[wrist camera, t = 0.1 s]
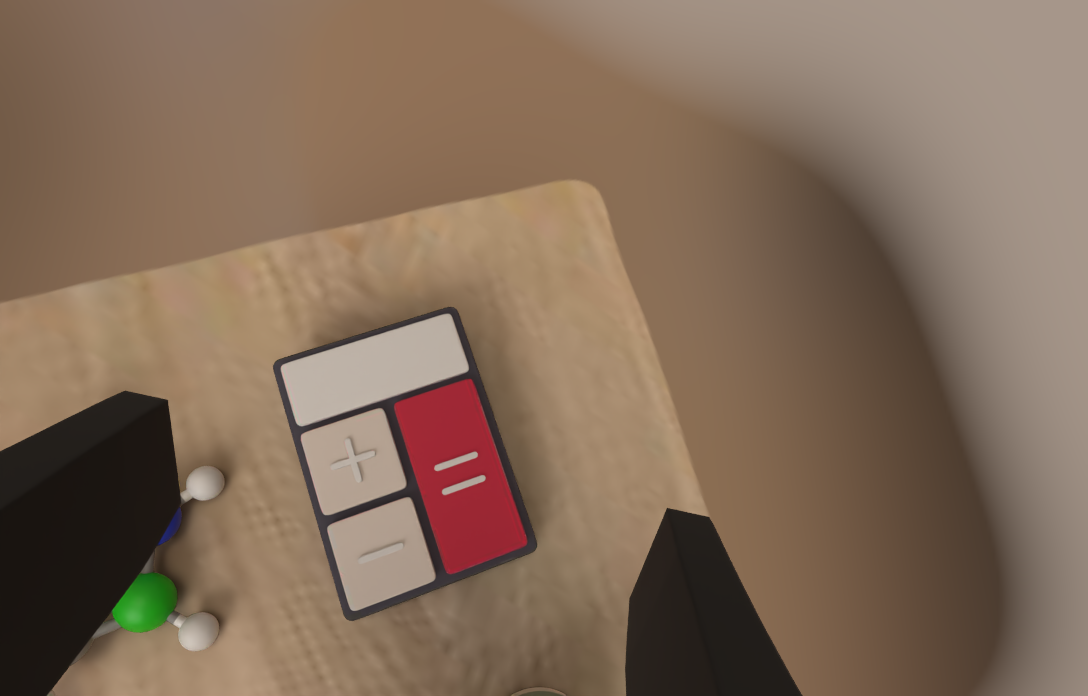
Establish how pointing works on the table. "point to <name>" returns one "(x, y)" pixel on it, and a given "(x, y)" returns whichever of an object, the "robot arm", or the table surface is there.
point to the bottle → (538, 692)
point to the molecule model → (165, 585)
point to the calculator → (402, 461)
